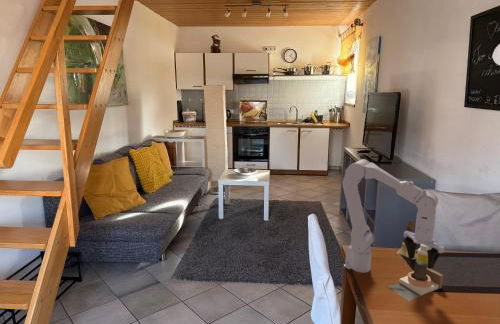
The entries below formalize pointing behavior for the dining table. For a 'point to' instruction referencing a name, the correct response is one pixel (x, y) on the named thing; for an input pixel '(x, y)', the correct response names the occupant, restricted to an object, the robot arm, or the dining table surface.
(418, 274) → the dowel
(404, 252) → the hand bell
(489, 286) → the dining table surface
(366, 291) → the dining table surface
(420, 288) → the square socket base
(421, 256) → the supplement bottle
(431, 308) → the dining table surface
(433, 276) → the l-shaped bracket
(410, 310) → the dining table surface
